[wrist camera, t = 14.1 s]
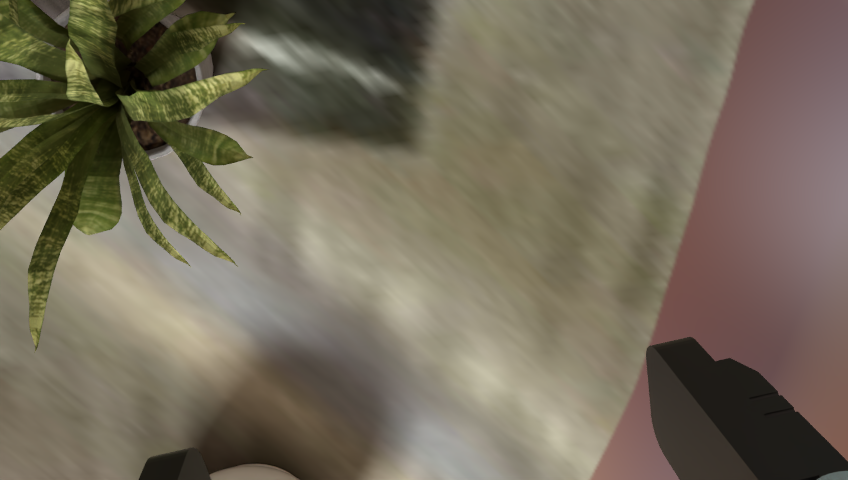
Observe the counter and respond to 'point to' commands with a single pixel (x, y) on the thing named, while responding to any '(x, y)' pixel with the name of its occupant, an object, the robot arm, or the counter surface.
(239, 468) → the lidded bowl
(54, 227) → the house plant
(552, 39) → the counter surface
